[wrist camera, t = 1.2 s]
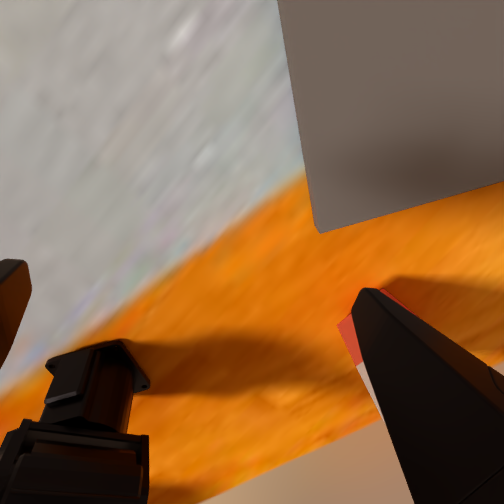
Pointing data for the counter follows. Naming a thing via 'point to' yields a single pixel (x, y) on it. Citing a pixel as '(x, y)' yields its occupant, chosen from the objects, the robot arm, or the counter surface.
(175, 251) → the counter surface
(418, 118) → the charcoal mat
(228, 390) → the counter surface
